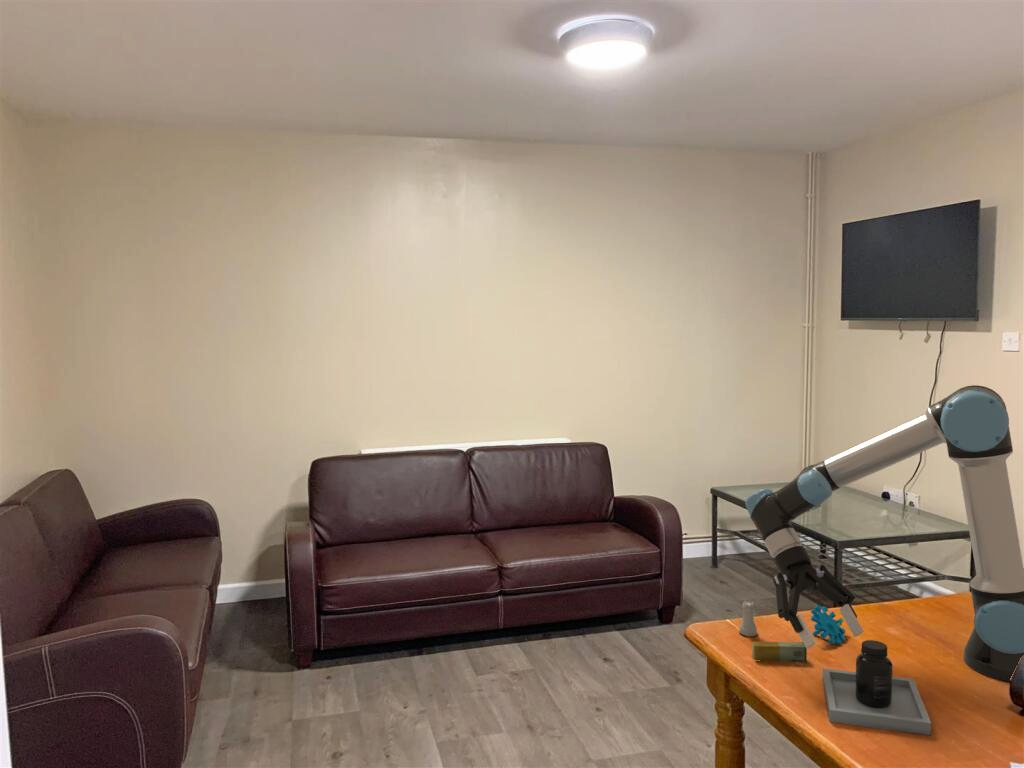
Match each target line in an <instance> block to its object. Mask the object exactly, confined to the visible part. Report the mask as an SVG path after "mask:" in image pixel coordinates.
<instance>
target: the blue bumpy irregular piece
mask: <svg viewBox="0 0 1024 768" xmlns="http://www.w3.org/2000/svg"><path fill="white" fill-rule="evenodd" d="M828 611H829V607H827V606H821V605H816V606H814V608H813V609H812V610H810V613H811V614H812V615H811V617H810V620H811V621H812V622H814V623H815V624H813V628H814V629H815V630H814V631H812V636H815V637H816V636H818V635H820V637H821V638H822V639H823V640H824V639H826V638H827V637H829V638H828V639H827V642H828V643H829V644H830V645H833V644H835V645H837V646H839V645H841V644H843V643H842V642H844V641H845V640H846V637H845V636H844V635H845V634H846V629H845V628H843V627H842V625H843V622H844V618H842V617H840V618H838V619H834V618H835V617H837V615H836V613H835V612H834V611H831V612H829V614H828V613H827V612H828Z"/></svg>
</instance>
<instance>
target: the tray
mask: <svg viewBox="0 0 1024 768" xmlns="http://www.w3.org/2000/svg"><path fill="white" fill-rule="evenodd" d="M822 683H823V690H824V695H825V696H824V697H825V702H826V708H827V715H828V720H829V723H836V724H841V725H842V724H843V725H849V726H857V727H864V728H865V727H866V728H871V729H878V730H879V729H880V730H885V731H886V730H888V731H894V732H902V733H910V734H916V735H924V736H931V735H932V721H931V719H930V716H929V714H928V711H927V709H926V706H925V704H924V701H923V699H922V697H921V694H920V692H919V689H918V687H917V684H916V682H915V678H908V677H900V676H899V677H898V676H892V702H891V704H890V705H889V706H888V707H885V708H874V707H869V706H866V705H864V704H862V703H860V702H859V701H858V700H857V698H856V693H855V692H856V691H855V689H856V671H848V670H841V669H840V670H839V669H832V668H822Z"/></svg>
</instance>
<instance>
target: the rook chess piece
mask: <svg viewBox="0 0 1024 768" xmlns="http://www.w3.org/2000/svg"><path fill="white" fill-rule="evenodd" d="M741 607H742V609H743V610H742V612H741V613H742V621H741V622H740V624H739V626H738V628H739V629H738V632H739V634H740V633H741V634H743V635H746V636H745V637H747V636H752V637H754V635H755V636H756V635H757V634H758V628H757V625H756V622H755V618H754V614H755V611H754V609H755V608H756V606H755V603H754V601H750V600H748V601H747V600H744V601H743V604H742V605H741ZM741 634H740V635H741ZM743 635H742V636H743Z"/></svg>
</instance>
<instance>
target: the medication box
mask: <svg viewBox="0 0 1024 768" xmlns="http://www.w3.org/2000/svg"><path fill="white" fill-rule="evenodd" d="M751 643H752V644H751V645H752V646H751V653H752V655H751V658H752V657H753V658H752V659H754V660H760V661H759V662H764V661H769V662H768V663H770V662H771V663H772V662H773V663H795V662H798V663H800V664H804V663H806V664H807V663H808V661H807V654H808V652H807V650H808V648H807V649H806V647H805V645H804V643H803V641H801V642H800V641H798V642H797V641H796V642H794V641H752V642H751ZM754 660H753V661H754Z"/></svg>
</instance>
